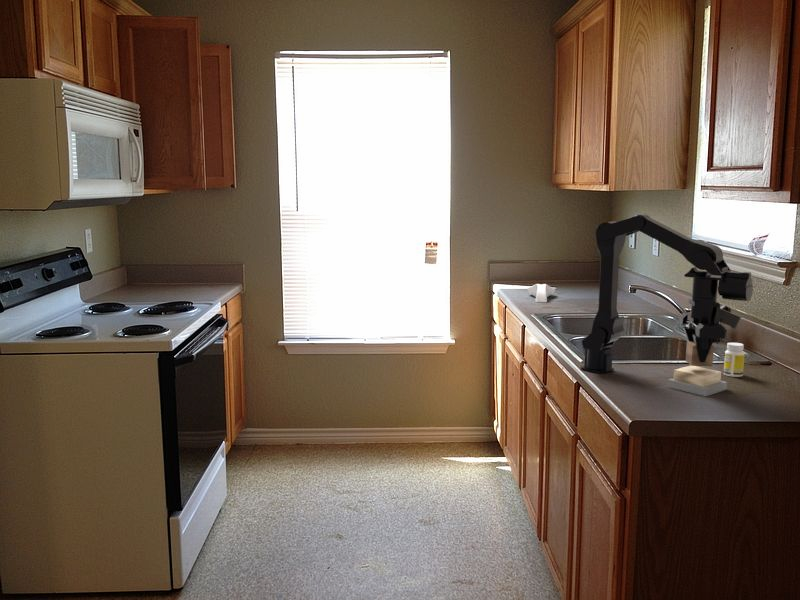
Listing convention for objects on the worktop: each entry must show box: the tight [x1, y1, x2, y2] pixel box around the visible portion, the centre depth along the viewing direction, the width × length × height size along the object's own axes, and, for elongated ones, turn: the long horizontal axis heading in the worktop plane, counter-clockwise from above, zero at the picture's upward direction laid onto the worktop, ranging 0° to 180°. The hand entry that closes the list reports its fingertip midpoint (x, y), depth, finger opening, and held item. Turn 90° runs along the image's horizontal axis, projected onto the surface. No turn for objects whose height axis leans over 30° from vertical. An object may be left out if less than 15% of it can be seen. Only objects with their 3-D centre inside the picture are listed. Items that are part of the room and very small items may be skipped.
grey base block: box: [667, 378, 728, 397], centre depth 189 cm, size 10×10×2 cm
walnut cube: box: [685, 340, 715, 367], centre depth 188 cm, size 5×5×5 cm
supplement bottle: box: [723, 342, 746, 378], centre depth 202 cm, size 5×5×8 cm
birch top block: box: [673, 364, 722, 387], centre depth 189 cm, size 8×8×2 cm
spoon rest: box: [527, 283, 556, 303], centre depth 326 cm, size 24×12×7 cm, turn 171°
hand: (699, 359), depth 188 cm, fingers closed on walnut cube, 5 cm apart
